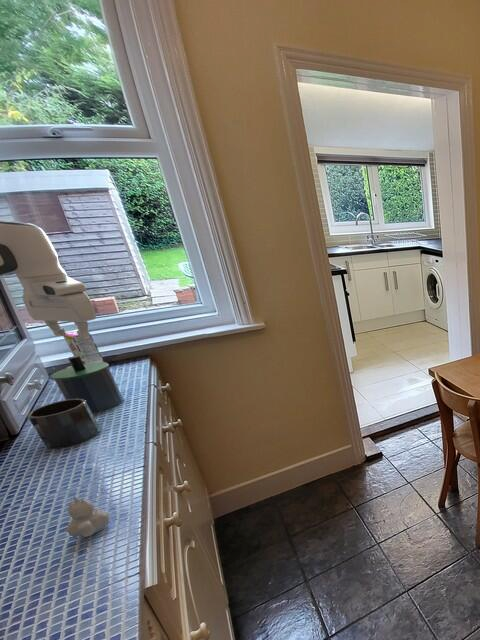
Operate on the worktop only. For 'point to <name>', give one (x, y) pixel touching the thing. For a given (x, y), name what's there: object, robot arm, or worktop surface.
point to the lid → (79, 369)
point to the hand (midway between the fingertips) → (72, 335)
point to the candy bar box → (82, 346)
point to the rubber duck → (85, 518)
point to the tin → (93, 390)
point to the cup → (64, 423)
